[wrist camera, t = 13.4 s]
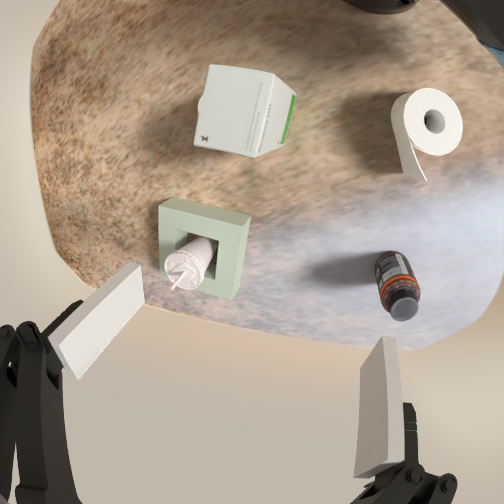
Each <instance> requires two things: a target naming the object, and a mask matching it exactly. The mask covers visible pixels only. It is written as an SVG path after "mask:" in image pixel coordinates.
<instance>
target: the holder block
mask: <svg viewBox="0 0 504 504" xmlns="http://www.w3.org/2000/svg"><path fill="white" fill-rule="evenodd" d="M250 219H251V215H247V214H243V213H239V212H235V211H231V210H227V209H223V208H219V207H214V206H210V205H206V204H201V203H197V202H193V201H188V200H184V199H179V198H175V197H172V198H170V199H169V200H167V201H165V202H164V203H162V204H160V205H159V206H158V229H159V266H160V277H161V278H164V279H167V280H169V278H168V277H167V275H166V273H165V270H164V262H165V259H166V258H167V256H168V255H169V254H170V253H171V252H173V251H176V250H179V249H181V248H182V247H184V246H185V245H187V236H188V232H189V233H193V234H197V235H200V236H204V237H208V238H211V239H215V240H219V246H218V256H217V264H214V263H211V262H210V263H209V265H208V267H207V269H206V271H205V273H204V279H203V281H202V283H201V284H200V285H199V286H198V287H197V288H195V289H196V290H199V291H202V292H205V293H208V294H211V295H214V296H217V297H220V298H224V299H227V300H230V301H232V299H233V297H234V296H235V294H236V292H237V290H238V288H239V286H240V280H241V274H242V268H243V262H244V256H245V250H246V243H247V237H248V231H249V225H250Z"/></svg>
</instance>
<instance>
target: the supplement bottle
mask: <svg viewBox="0 0 504 504" xmlns="http://www.w3.org/2000/svg"><path fill="white" fill-rule="evenodd" d="M375 275H376V280H377V284H378V289H379V294H380V299H381V303H382V306H383V307H384V309H385V310H386V311H387V312H389V313H390V314H391V316H392V318H393V319H395V320H397V321H406V320H409V319H411V318H412V317H414V316H415V314H416V313H417V311H418V302H419V299H420V288H419V285H418V283H417V280H416V278H415V276H414V273H413V271H412V269H411V267H410V264H409V262H408V260H407V258H406V257H405V256H404V255H403V254H401V253H399V252H388V253H386V254H384V255H382V256H381V257H380V258H379V259H378V261H377V263H376V265H375Z"/></svg>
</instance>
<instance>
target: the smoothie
mask: <svg viewBox="0 0 504 504" xmlns="http://www.w3.org/2000/svg"><path fill="white" fill-rule="evenodd" d="M217 247H218V243H217V240H215V239H211V238H208V237H204V236H199V237H197V238H196V239H194V240H193V241H191V242H190V243H188V244H187V245H185V246H184V247H182V248H181V249H179V250H176V251H173V252H171V253H170V254H169V255H168V256H167V258H166V259H165V262H164V270H165V273H166V275H167V277H168V278H169V280H170V281H171V282H172V283H173V284H172V285H171V286H170V287H169V290H170V291H172V290H173V289H174V288H175V287H176V286H178V287H180V288H182V289H186V290H192V289H195V288H197V287H198V286H199V285H200V284H201V283H202V281H203V279H204V273H205V271H206V269H207V267H208V265H209V263H210V261H211V259H212V257H213V255H214V253H215V251H216V249H217Z"/></svg>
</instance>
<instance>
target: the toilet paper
mask: <svg viewBox="0 0 504 504" xmlns="http://www.w3.org/2000/svg"><path fill="white" fill-rule="evenodd" d="M424 115H425V117H426V121H427V123H426V126H425V124H424ZM391 123H392V127H393V131H394V135H395V139H396V143H397V147H398V152H399V156H400V161H401V166H402V171H403V174H406V175H409V176H412V177H415V178H417V179H420V180H423V181H426V182H428V181H427V179H426V177H425V175H424V173H423V171H422V169H421V168H420V165H419V163H418V160H417V158H416V155H415V153H414V150H413V148H416V149H419V150H421V151H423V152H426V153H429V154H431V155H444V154H447V153H450V152H451V151H452V150H453V149H455V148H456V147H457V145H458V143H459V141H460V140H461V136H462V131H463V125H462V118H461V115H460V112H459V109H458V108H457V106H456V105H455V103H454V102H453V100H452V99H451V98H450V97H448V96H447V95H446V94H445V93H443V92H441V91H439V90H437V89H432V88H423V89H420V90H416V91H412V92H409V93H406V94H403V95H401V96H400V97H399V98H397V99H396V101H395V102H394V104H393V106H392V110H391Z"/></svg>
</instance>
